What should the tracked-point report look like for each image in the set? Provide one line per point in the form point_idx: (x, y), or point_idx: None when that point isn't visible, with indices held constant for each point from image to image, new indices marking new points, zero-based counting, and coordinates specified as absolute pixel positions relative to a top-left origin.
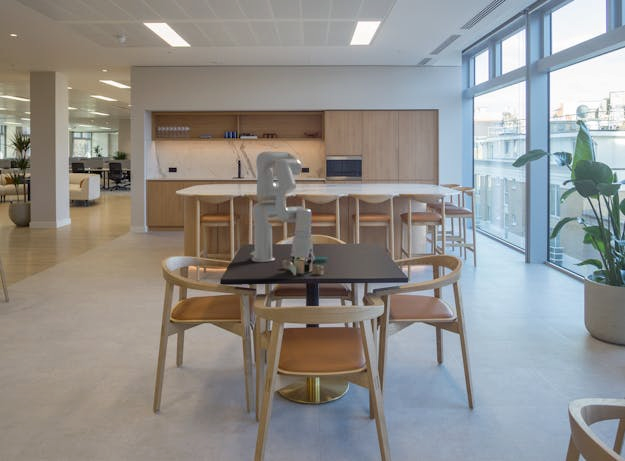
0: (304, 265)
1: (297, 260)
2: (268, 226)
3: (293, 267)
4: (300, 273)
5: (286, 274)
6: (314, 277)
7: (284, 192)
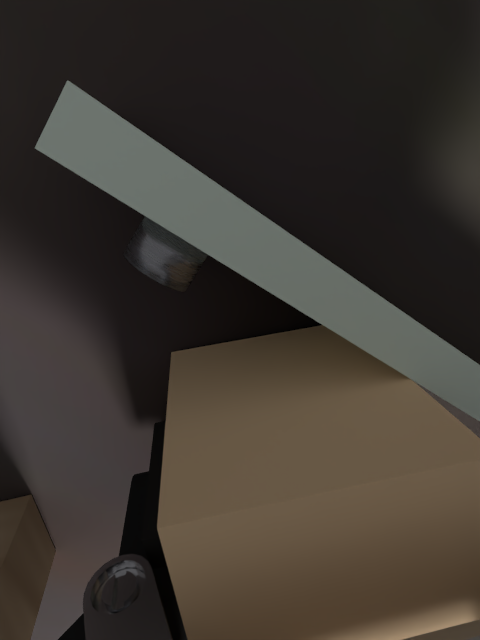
0: None
1: (394, 514)
2: None
3: (197, 170)
4: (200, 348)
5: (327, 108)
6: None
7: None
